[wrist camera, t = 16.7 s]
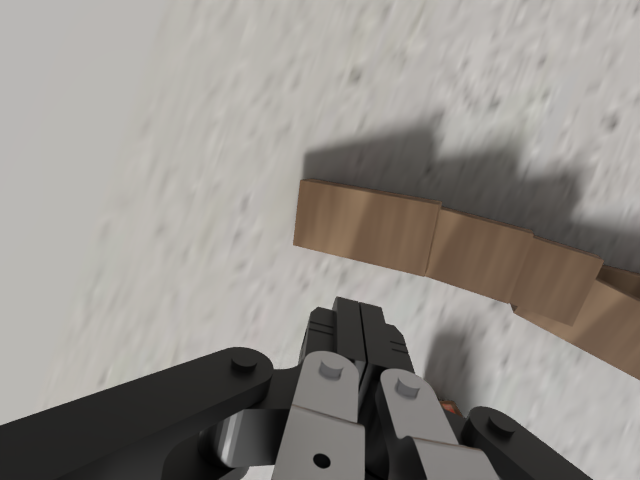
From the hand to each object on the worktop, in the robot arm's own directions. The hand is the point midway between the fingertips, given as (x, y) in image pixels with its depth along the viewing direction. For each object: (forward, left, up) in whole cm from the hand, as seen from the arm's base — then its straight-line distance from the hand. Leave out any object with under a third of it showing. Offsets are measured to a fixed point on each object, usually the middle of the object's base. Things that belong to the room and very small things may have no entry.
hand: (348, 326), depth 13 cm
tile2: (-14, +7, -18) cm, 24 cm away
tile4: (-3, +1, -18) cm, 19 cm away
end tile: (+3, 0, -18) cm, 19 cm away
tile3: (-8, +3, -18) cm, 20 cm away
